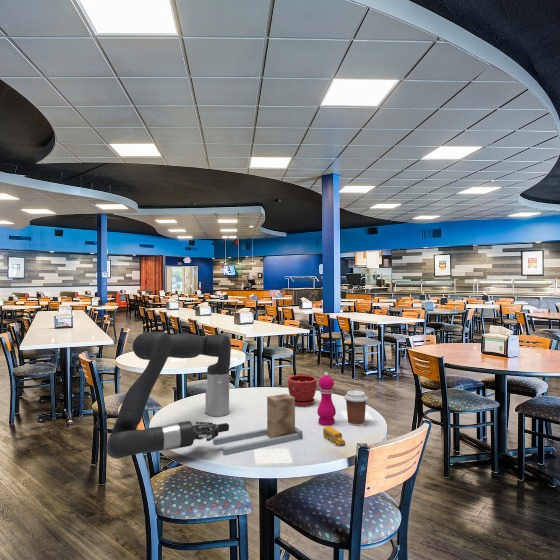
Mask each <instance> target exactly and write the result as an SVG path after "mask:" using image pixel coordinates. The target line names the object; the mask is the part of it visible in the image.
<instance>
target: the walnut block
mask: <svg viewBox="0 0 560 560" xmlns="http://www.w3.org/2000/svg"><path fill="white" fill-rule="evenodd" d="M266 406H267V407H266V410H267V411H266V413H267V414H266V423H267V424H266V425H267V427H266V429H267V435H266V436H267V437H268V438H269V439H271V438H276V437H280V436H285V435H290V434H295V427H296V405H295V397H293V396H290V394H288V393H283V394H276V395H269V396H266Z"/></svg>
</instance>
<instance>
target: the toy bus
mask: <svg viewBox="0 0 560 560" xmlns="http://www.w3.org/2000/svg"><path fill="white" fill-rule="evenodd" d="M322 435H323V437H324V438H325V439H326V441H329V442H331V443H332V444H334V446H336V447H341V446H344V445H346V441H345V439H344V438H343V434H342V432H340V431H339V430H337V429H335V428H333V427H331V425H330V426H324V427H323V429H322Z"/></svg>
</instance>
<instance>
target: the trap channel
mask: <svg viewBox="0 0 560 560" xmlns="http://www.w3.org/2000/svg"><path fill="white" fill-rule="evenodd" d="M263 436H267V428H262V429H257V430H252V431H247V432H241V433H236V434H231V435H224V436H221V437H215V438H213V439H212V444H213V445H214V446H219V445H223V444H228V443H233V442H239V441H242V440H243V441H244V440H248V439H254V438H259V437H263ZM302 439H303V430H301V429H300V428H299V427H297V426H295V434H290V435H285V436H280V437H276V438H266V439H261V440H257V441H252V442H247V443H242V444H238V445H232V446H228V447H223V448H222V454H223V456H229V455H232V454H238V453H241V452H242V453H243V452H246V451H252V450H256V449H261V448H266V447H270V446H275V445H280V444H284V443H291V442H294V441H297V440H302Z"/></svg>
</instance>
